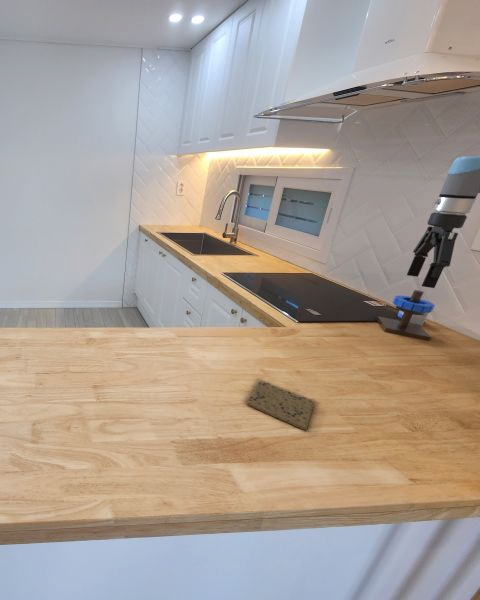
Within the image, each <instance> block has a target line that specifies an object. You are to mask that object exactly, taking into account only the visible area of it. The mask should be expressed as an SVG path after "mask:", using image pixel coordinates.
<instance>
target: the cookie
mask: <svg viewBox="0 0 480 600" xmlns="http://www.w3.org/2000/svg"><path fill="white" fill-rule="evenodd" d="M246 406H248V407H251V408H253V409H255V410H258V411H260V412H263V413H264V414H267V415H269V416H271V417H274V418H276V419H278V420H280V421H282V422H284V423H287V424H289V425H292V426H293V427H296V428H299V429H301V430H302V431H307V429H308V427H309V424H310V419H311V416H312V413H313V410H314V407H315V402H314V401H313V400H311V399H309V398H307V397H304V396H301V395H298V394H295V393H293V392H290V391H288V390H286V389H282V388H280V387H277V386H275V385H272V384H270V383H269V382H265V381H263V380H260V381H259V382H258V384H257V385H256V387H255V388H254V391H253V392H252V393H251V396H250V397H249V399H248V401H247V402H246Z"/></svg>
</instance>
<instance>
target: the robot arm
mask: <svg viewBox="0 0 480 600" xmlns="http://www.w3.org/2000/svg"><path fill="white" fill-rule="evenodd" d="M479 194H480V155H477V156H475V155H473V156H471V155H469V156H467V155H466V156H465V155H464V156H458V157H457V158H456V159H455V160H454V161H453V162H452V165H451V166H450V168H449V170H448V172H447V175H446V178H445V180H444V182H443V185H442V188H441V190H440V193H439V195H438V197H437V199H435V200H434V202H433V204H434V207H433V209H432V210H433V212H432V213H430V215H429V218H428V220H427V223H426V224H427V225H428V226H427V228H426V230H425V233H423V236H422V237H421V239H420V240H419V241H418V243H417V245H416V246H415V247H414V249H413V250H412V251H413V252H412V253H413V254H414V256H413V259H412V261H411V263H410V266H409V268H408V271H407V273H406V276H409V277H416V278H418V277H419V275H420V273H421V271H422V268H423V267H424V264H425V262H426V259H427V258H428V257H429V253H430V252H431V251H432V249H433V258H432V259H433V260H432V262H430V263H429V268H428V271H427V272H426V275H425V278H424V279H423V282H422V284H421V287H423V288H429V289H435V288H436V286H437V283H438V281H439V279H440V277H441V275H442V273H443V270H444V268H446V267H448V268H449V267H450V266H451V262H452V258H453V252H454V248H455V244H456V240H457V237H458V234H459V233H458V232H453V231H454V229H462V228H463V226H464V225H465V223H466V220H467V218H468V216H467V215H466V214H470V212H471V210H472V208H473V205H474V204H475V202H476V198H477V196H478V195H479Z"/></svg>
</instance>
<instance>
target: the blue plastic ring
mask: <svg viewBox="0 0 480 600" xmlns="http://www.w3.org/2000/svg"><path fill="white" fill-rule="evenodd" d="M410 298H411V296H409V295H395V296H394V299H393V301H392V304H393V305H394V306H395V307H396V306H398V307H401V308H404V309H407V310H412V311H416V312H422V313H428V314H430V313H432V312H433V310H434V309H435V308H434V307H435V306H436V305H435V304H434V303H432V302H431V301H429V300H426V299H423V298H421V299H420V301H419V303H413V302H409V301H410Z"/></svg>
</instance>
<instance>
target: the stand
mask: <svg viewBox="0 0 480 600" xmlns="http://www.w3.org/2000/svg"><path fill="white" fill-rule="evenodd" d="M423 295H424V291H422V290H419V289H414V290H413V292H412V294H411V296H410V297H411V298H410V301H409V302H413V303H419V301H420V299H422V297H423ZM395 309H396V310H398V311H402V312H404V314H403V316H402V318H400V320H399V319H393V318H389V317H383V316H379V315H378V316H377V317H376V319H375V320H376V321H377V323H378V325H379V326H380V327H381V328H382V330H383V332H384V333H390V334H392V335H393V334H394V335H399V336H403V337H408V338H411V339H412V338H413V339H418V340H422V341H427V342H430V340H431V336H430V335H429V333H428V332H426V330H425V329H424V328H423V327H422V326H420V325H419V324H414V323H409V322H410V320H411V318H412V316H413V314H414V315H424V314H425V313H422V312H416V311H412V310H407V309H404V308H401V307H398V306H396V305H395Z"/></svg>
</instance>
